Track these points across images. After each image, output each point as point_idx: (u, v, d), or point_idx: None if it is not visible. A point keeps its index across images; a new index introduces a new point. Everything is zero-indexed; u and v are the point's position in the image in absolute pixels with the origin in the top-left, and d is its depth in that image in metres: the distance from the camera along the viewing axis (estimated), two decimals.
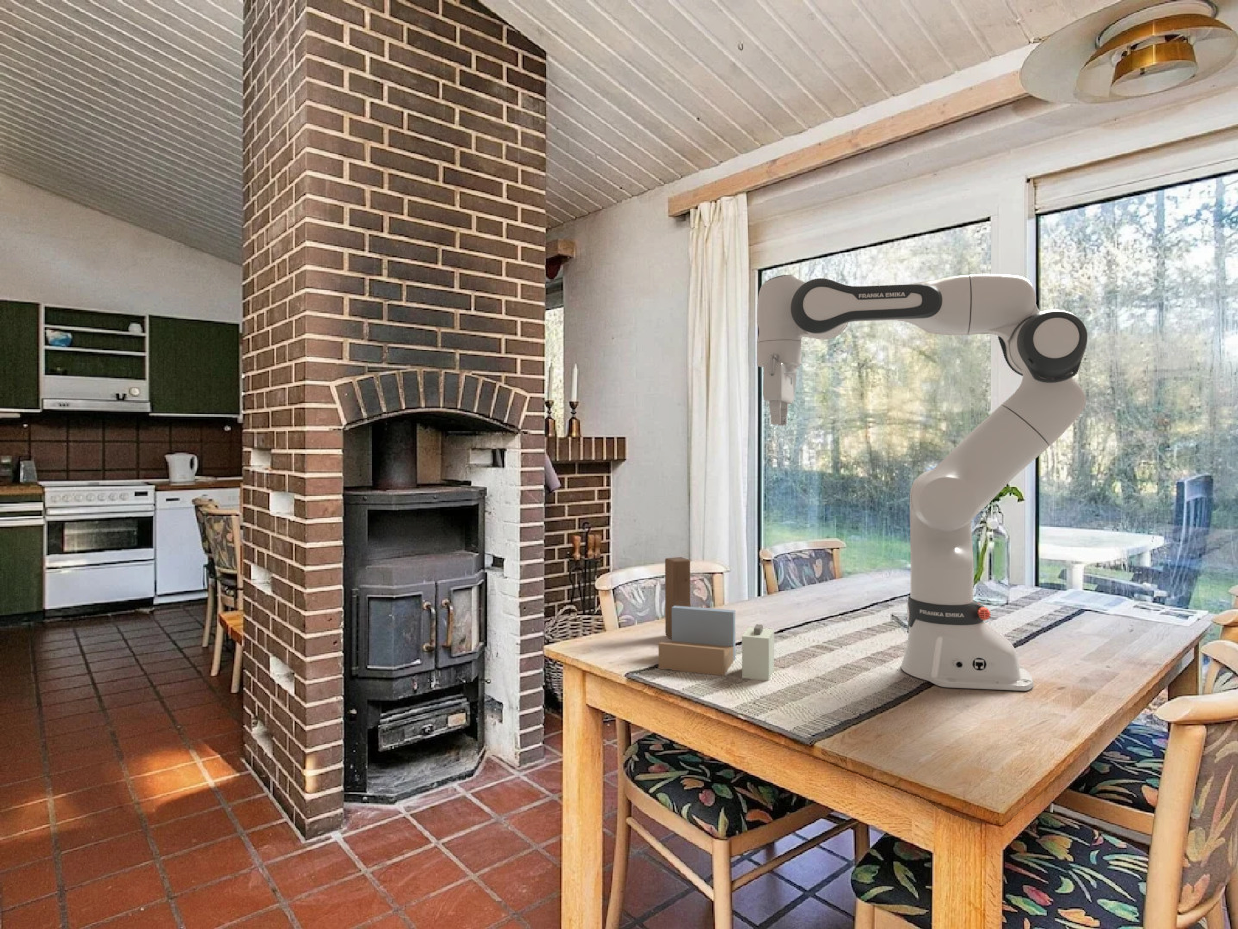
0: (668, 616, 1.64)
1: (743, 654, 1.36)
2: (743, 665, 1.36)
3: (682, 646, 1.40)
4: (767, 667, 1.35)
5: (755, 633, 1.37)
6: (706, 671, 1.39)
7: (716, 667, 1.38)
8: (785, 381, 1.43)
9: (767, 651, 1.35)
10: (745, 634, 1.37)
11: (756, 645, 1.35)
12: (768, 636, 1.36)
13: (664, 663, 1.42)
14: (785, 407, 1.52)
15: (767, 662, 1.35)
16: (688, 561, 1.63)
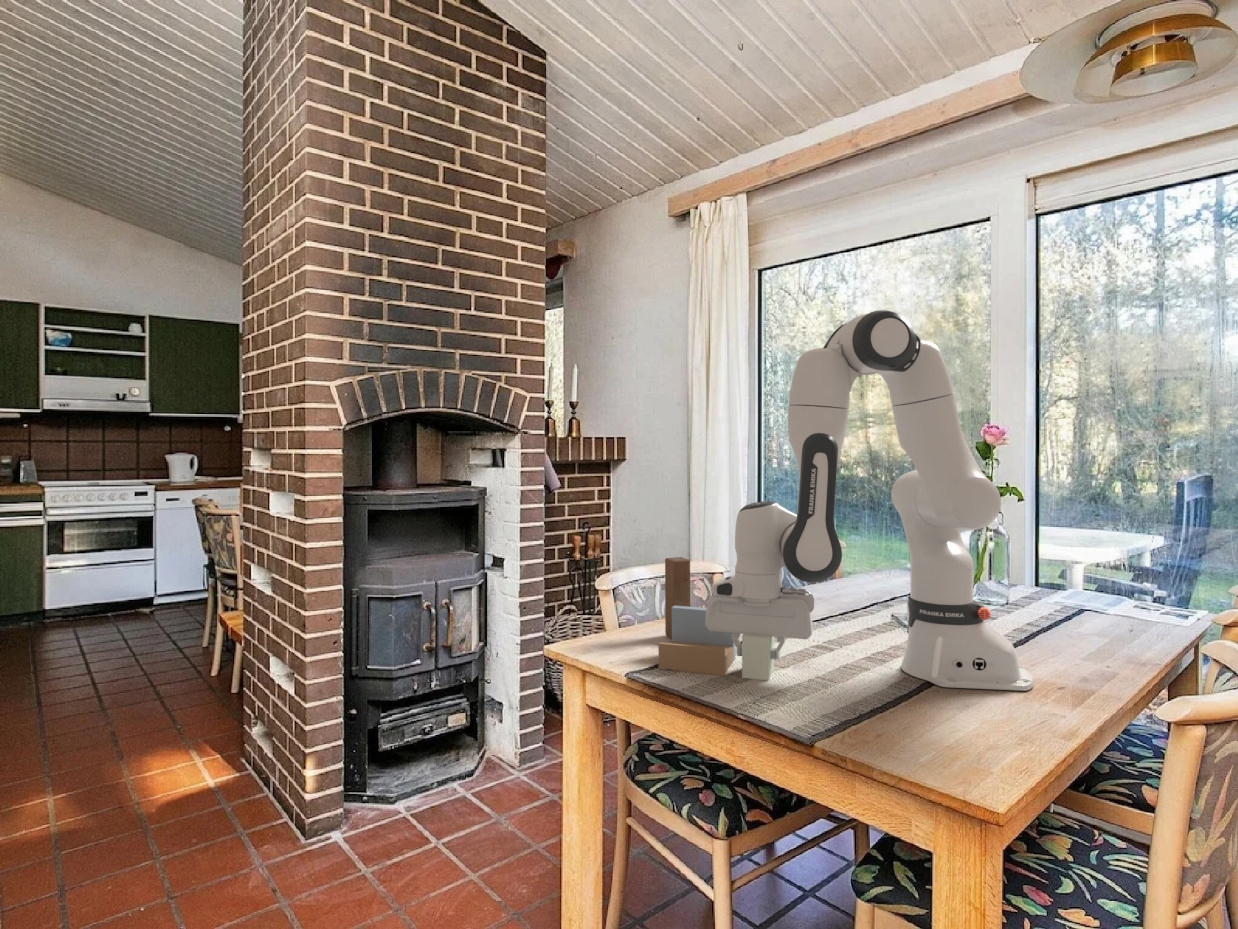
0: (668, 616, 1.64)
1: (743, 654, 1.36)
2: (743, 664, 1.36)
3: (682, 646, 1.40)
4: (767, 667, 1.35)
5: None
6: (706, 671, 1.39)
7: (716, 667, 1.38)
8: None
9: (767, 651, 1.35)
10: (745, 634, 1.37)
11: (756, 645, 1.35)
12: (768, 636, 1.36)
13: (664, 663, 1.42)
14: (739, 635, 1.40)
15: (767, 661, 1.35)
16: (688, 561, 1.63)
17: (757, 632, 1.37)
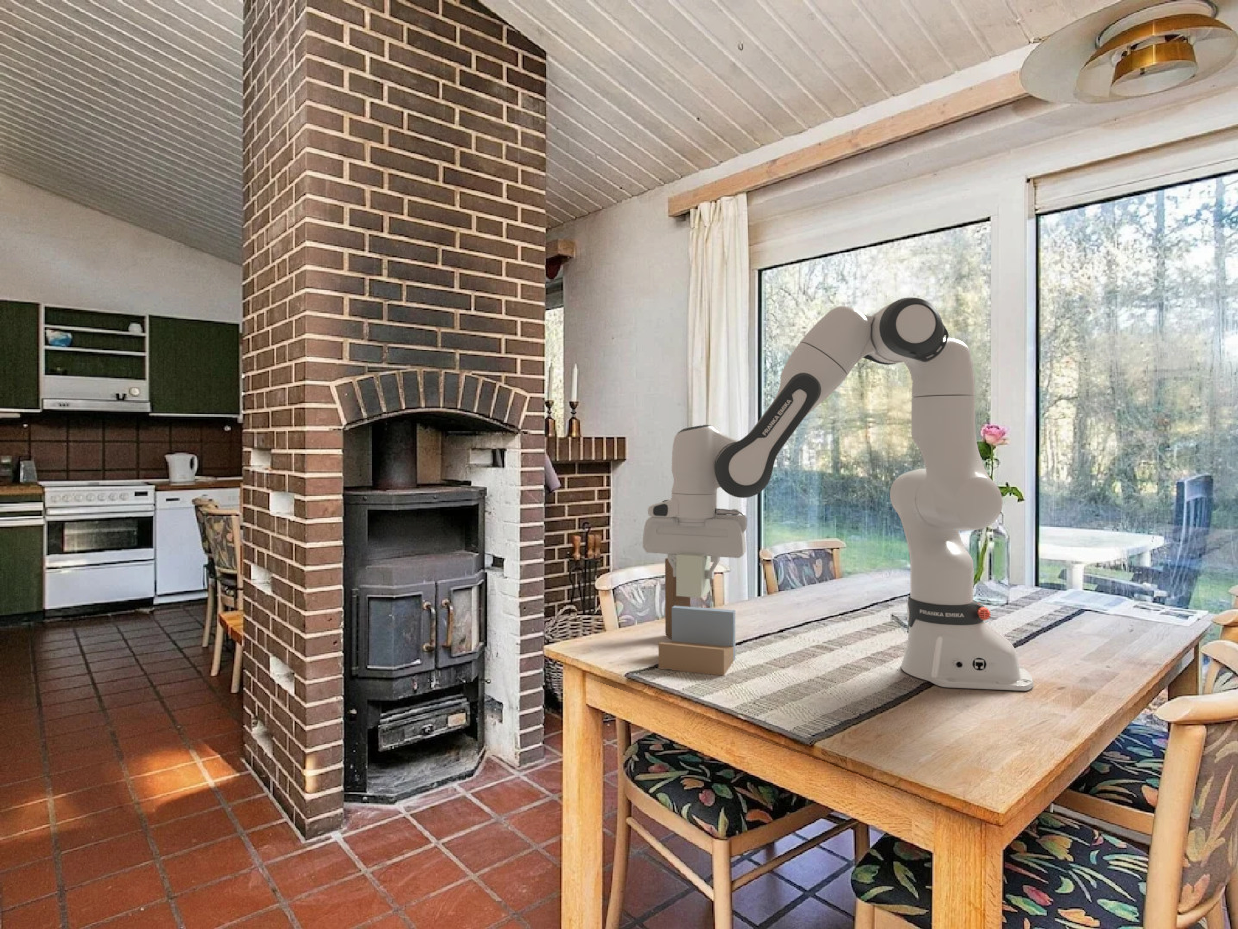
0: (668, 616, 1.64)
1: (677, 572, 1.39)
2: (677, 583, 1.39)
3: (682, 646, 1.40)
4: (700, 584, 1.38)
5: None
6: (706, 671, 1.39)
7: (716, 667, 1.38)
8: None
9: (700, 569, 1.38)
10: None
11: (690, 563, 1.38)
12: (702, 555, 1.39)
13: (664, 663, 1.42)
14: None
15: (700, 579, 1.38)
16: None
17: (692, 552, 1.40)
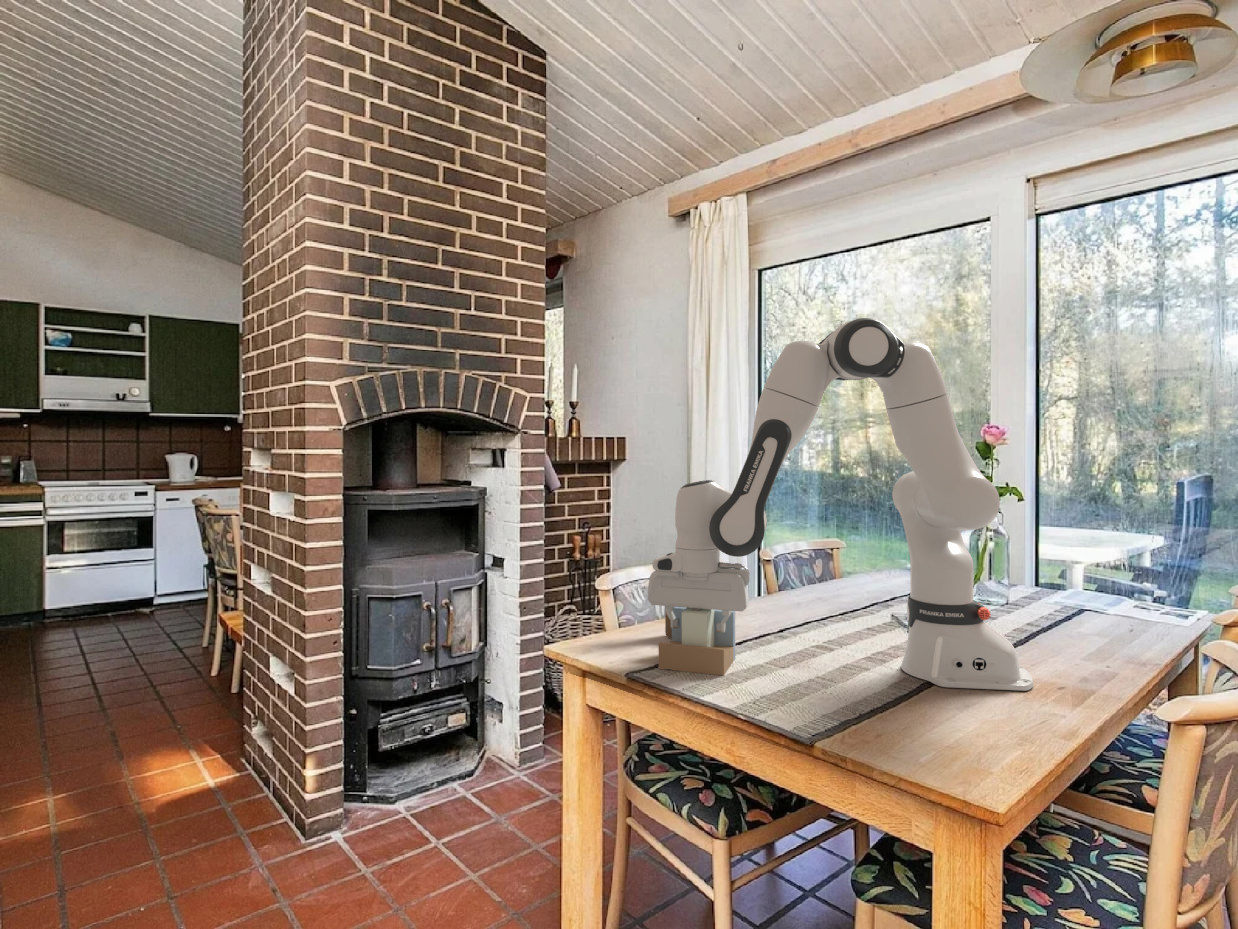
0: None
1: (682, 629, 1.42)
2: (682, 640, 1.42)
3: (682, 646, 1.40)
4: (705, 642, 1.41)
5: (694, 610, 1.43)
6: (706, 671, 1.39)
7: (716, 667, 1.38)
8: None
9: (705, 626, 1.41)
10: (685, 611, 1.43)
11: (695, 621, 1.41)
12: (706, 612, 1.42)
13: (664, 663, 1.42)
14: (673, 608, 1.47)
15: (705, 637, 1.41)
16: None
17: (696, 605, 1.43)
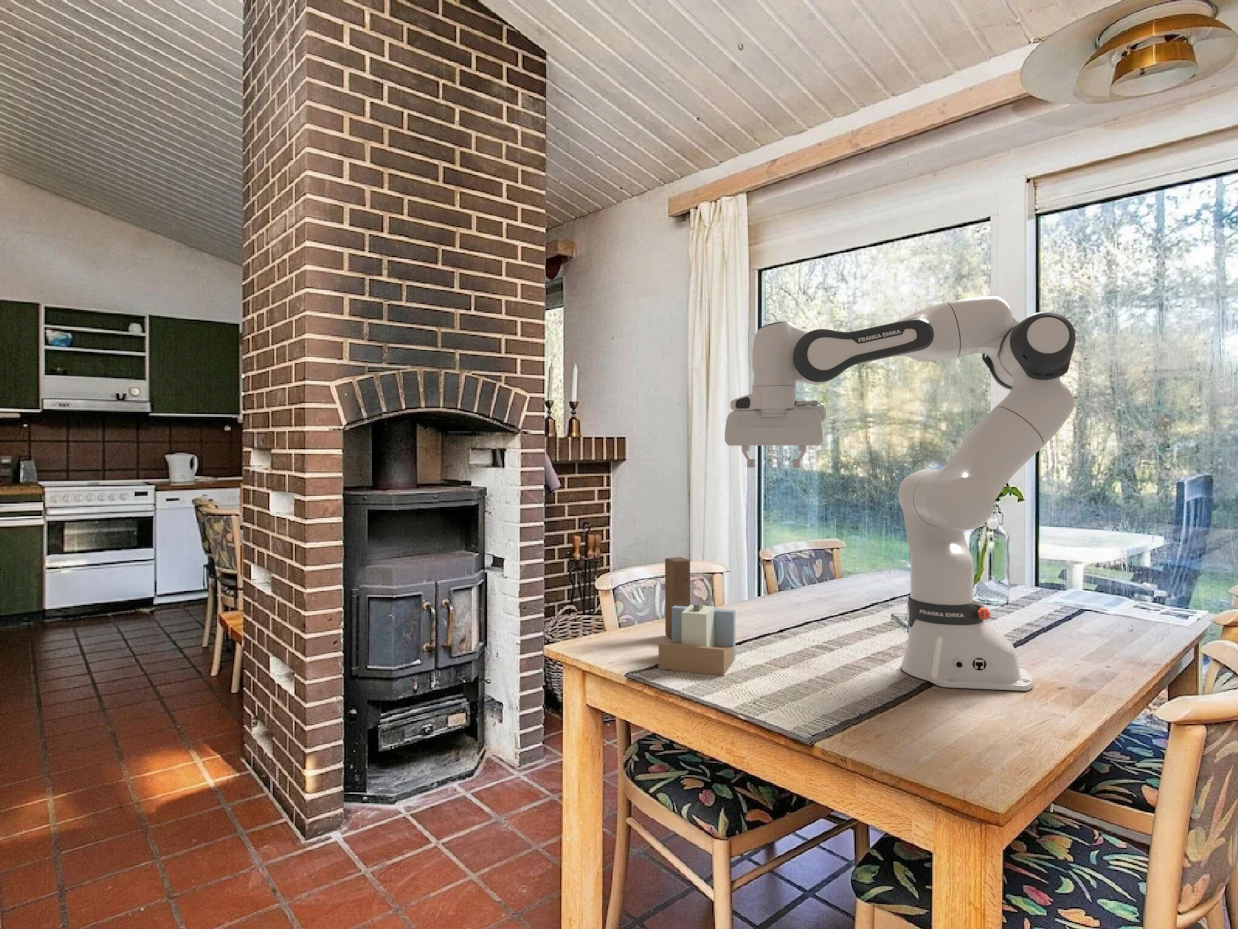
0: (668, 616, 1.64)
1: (682, 629, 1.42)
2: (682, 640, 1.42)
3: (682, 646, 1.40)
4: (705, 642, 1.41)
5: (694, 610, 1.43)
6: (706, 671, 1.39)
7: (716, 667, 1.38)
8: None
9: (705, 626, 1.41)
10: (685, 611, 1.43)
11: (695, 621, 1.41)
12: (706, 612, 1.42)
13: (664, 663, 1.42)
14: (749, 449, 1.52)
15: (705, 637, 1.41)
16: (688, 561, 1.63)
17: (773, 442, 1.48)
